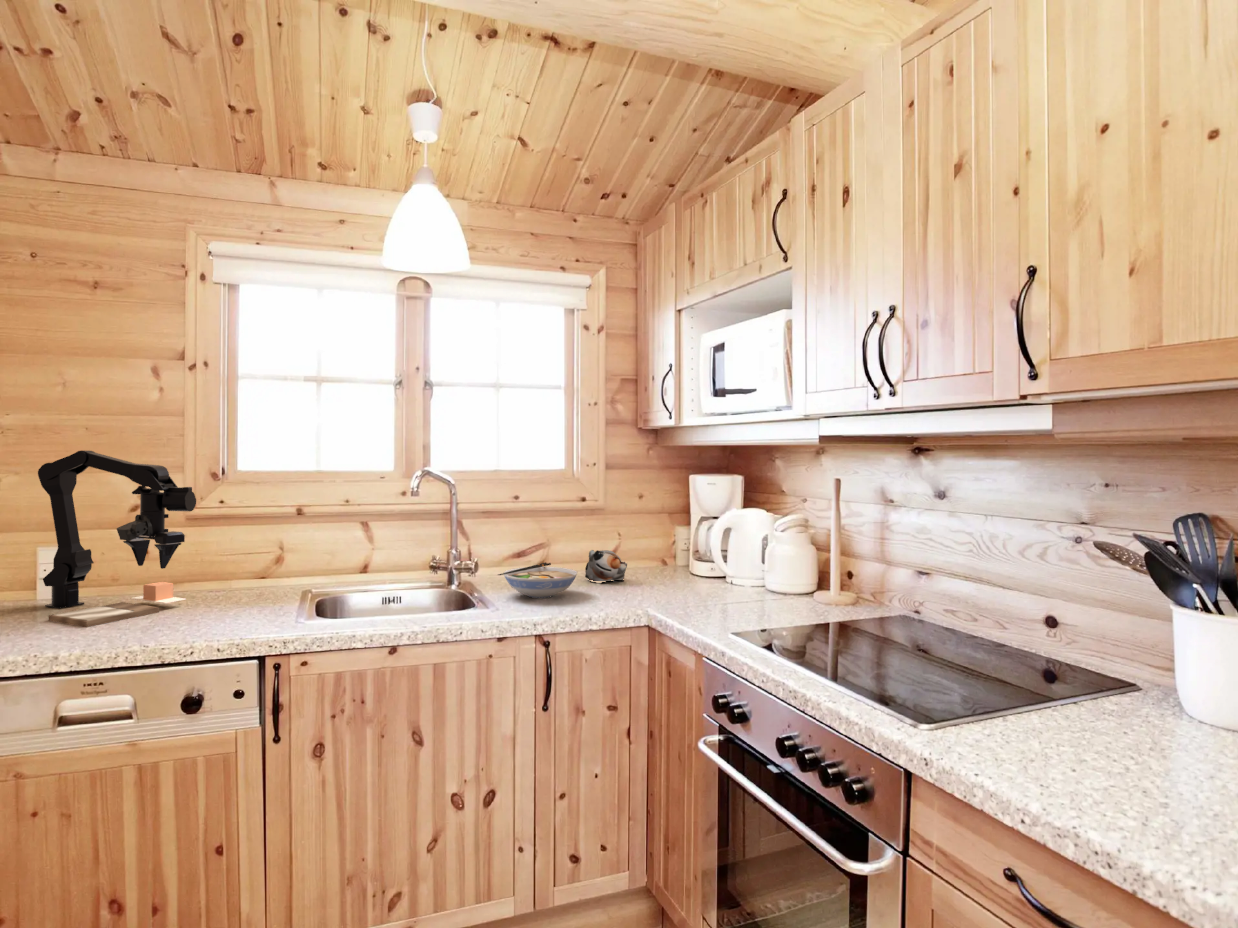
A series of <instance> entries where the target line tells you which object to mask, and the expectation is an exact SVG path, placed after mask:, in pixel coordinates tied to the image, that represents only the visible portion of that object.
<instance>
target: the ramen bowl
mask: <svg viewBox="0 0 1238 928" xmlns="http://www.w3.org/2000/svg"><path fill="white" fill-rule="evenodd" d="M551 565H552V563H551V562H542V563H538V564H533V565H530V566H525V567H518V568H512V569H507V570H505V571H504V572H503V573H500V574H497V576H502V575H503V576H504V579H505V580H506V581H507V583H508V585H510V586H511V588H513V589H514V591H516V592H518V593H520V594H522V595H525V596H528V597H529V598H531V597H532V598H533V599H547V598H546V597H549V598H551V597H550V596H552V597H554V596H555V595H558V594H560V593H562V592H564V591H566V590H567V589H568V588H569V587H570V586H571V585H572V584H573V583H574V581H575V580H576V578H577V575H578V571H576V570H575V569H572V568H566V567H556V566H551Z"/></svg>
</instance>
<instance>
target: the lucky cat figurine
mask: <svg viewBox="0 0 1238 928" xmlns="http://www.w3.org/2000/svg"><path fill="white" fill-rule="evenodd" d="M627 569H628V562H626V561H622V559H621V557H620V556H619V555H618V554H617V553H615V552H614V551H612V550H603V549H602V550H594V549H591V550H590V551H589V552H588V561H587V563H586V565H585V569H584V570H585V571H584V572H585V574H584V575H585V576H584V577H585V578H586V579H587V580H588V579H589V580H593V581H611V580H623V579H624V580H625V574H626V572H627V571H626V570H627ZM589 580H588V581H589Z"/></svg>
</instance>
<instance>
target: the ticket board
mask: <svg viewBox="0 0 1238 928" xmlns="http://www.w3.org/2000/svg"><path fill="white" fill-rule="evenodd" d="M159 612H160V606H151V605H147V604H146V605H145V604H138V603H130V602H124V601H122V602H121V601H120V602H115V603H110V604H105V605H104V604H103V605H96V606H92V607H91V606H90V607H88V608H87V607H86V608H80V609H75V610H70V611H65V612H59V613H58V612H57V613H52V614H50V615H48V621H49V622H53V623H61V624H65V625H66V624H67V625H73V626H78V627H84V628H88V627H93V626H98V625H104V624H107V623H112V622H113V623H114V622H120V621H122V620H123V621H124V620H127V619H132V618H136V617H143V616H146V615H147V616H149V615H153V614H156V613H159Z"/></svg>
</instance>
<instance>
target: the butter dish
mask: <svg viewBox="0 0 1238 928" xmlns="http://www.w3.org/2000/svg"><path fill="white" fill-rule="evenodd" d="M142 587H143V593H142V594H143V595H140V596H135V597H131V598H130V599H131V600H137V601H145V602H150V603H151V602H152V603H158V604H169V603H173V602H174V603H175V602H180V601H184V600H187V598H182V597H176V596H174V583H172V582H165V581H159V582H153V583H147V584H143V586H142Z"/></svg>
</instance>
